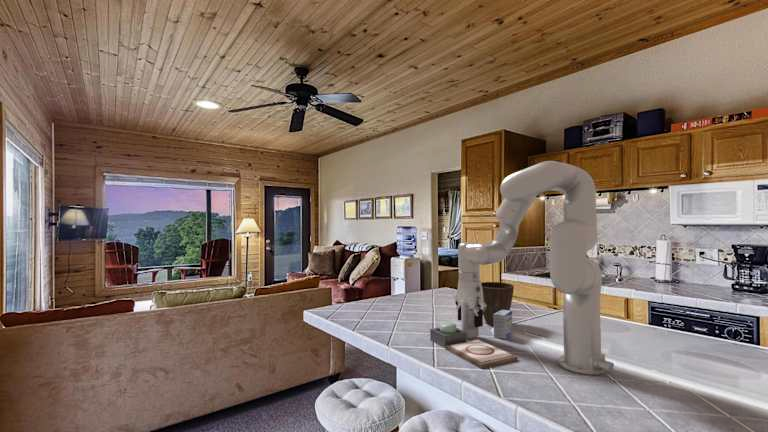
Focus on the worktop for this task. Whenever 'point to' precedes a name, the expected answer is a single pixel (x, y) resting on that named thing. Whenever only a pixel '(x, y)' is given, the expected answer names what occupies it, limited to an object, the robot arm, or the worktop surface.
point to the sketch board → (481, 353)
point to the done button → (447, 328)
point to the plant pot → (496, 298)
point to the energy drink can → (468, 320)
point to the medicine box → (502, 324)
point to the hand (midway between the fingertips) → (469, 323)
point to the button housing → (447, 337)
